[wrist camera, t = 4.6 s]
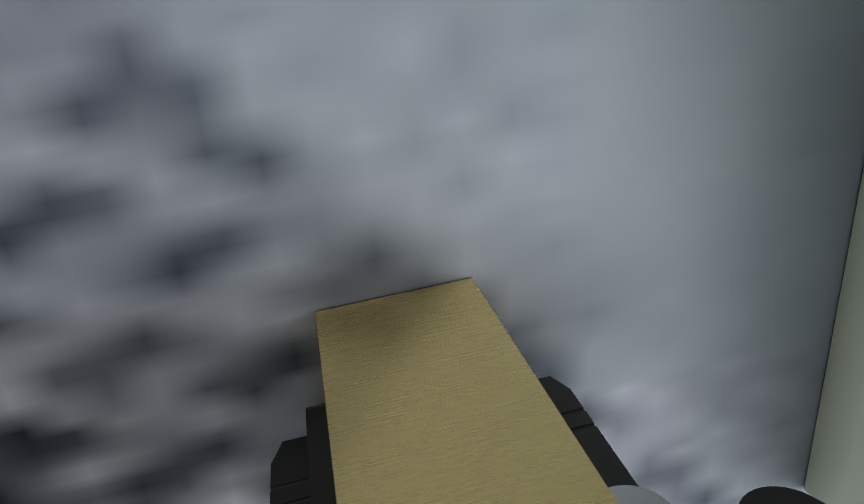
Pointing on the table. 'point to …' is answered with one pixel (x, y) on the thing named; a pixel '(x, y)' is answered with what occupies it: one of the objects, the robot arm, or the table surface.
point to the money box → (843, 389)
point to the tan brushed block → (442, 407)
